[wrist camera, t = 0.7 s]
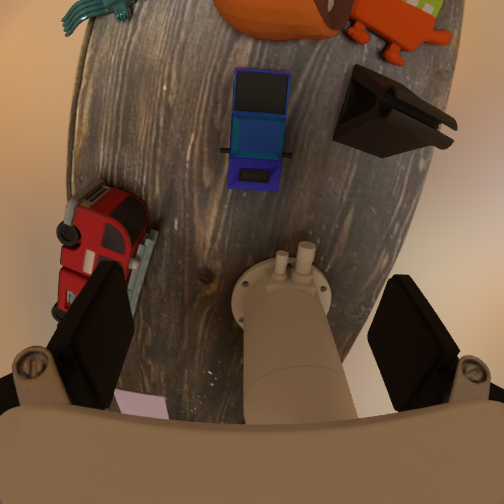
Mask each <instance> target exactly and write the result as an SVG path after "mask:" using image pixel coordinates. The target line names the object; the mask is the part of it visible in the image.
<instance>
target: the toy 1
mask: <svg viewBox="0 0 504 504" xmlns="http://www.w3.org/2000/svg"><path fill="white" fill-rule="evenodd" d="M148 222H149V216H148V211H147V209H146V207H145V205H144V203H143V202H142V201H141V200H140V199H139V198H137V197H136V196H134V195H132V194H130V193H127V192H125V191H122V190H119V189H116V188H114V187H111V186H108V185H106V181H105V180H102V179H99V178H98V179H96V180H95V181H93V182H92V183H91V184H89V185H88V186H86V187H85V188H83V189H82V190H81V191H79V192H78V193H76V194H75V195H74V196H72V197H71V198H70V199H69V201H68V203H67V205H66V211H65V216H64V220H63V221H62V222H61V223H60V224H59V225H58V226H57V230H56V233H57V237H58V239H59V241H60V242H61V243H62V244H64V245H63V246H62V249H61V258H60V264H61V265H63V267H62V268H61V269H60V272H59V283H58V302H57V303H56V304H55V305H54V307H53V308H52V310H51V313H52V316H53V317H54V319H55V320H56V321H58V324H57V327H58V326H59V324H60V322H61V321H62V319H63V317H64V316H65V314H66V312H67V311H68V309H69V307H70V306H71V304H72V302H73V301H74V299H75V298H76V297H77V296H78V294H79V293H80V291H81V290H82V288H83V286H84V285H85V283H86V282H87V280H88V279H89V277H90V276H91V274H92V273H93V271H94V270H95V268H96V267H97V265H98V264H99V262H100V261H102V260H106V261H117V262H118V264H119V266H122V267H123V269H124V275H125V281H126V286H127V292H128V297H129V302H130V307H131V312H132V317H133V318H134V315H135V311H136V307H137V303H138V299H139V296H140V292H141V289H142V285H143V282H144V278H145V275H146V271H147V268H148V265H149V261H150V258H151V255H152V252H153V248H154V245H155V242H156V239H157V236H158V233H159V232H158V231H156V230H153V229H152V230H151V233H150V234H148V233H146V230H147V227H148Z"/></svg>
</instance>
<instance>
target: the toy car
mask: <svg viewBox="0 0 504 504" xmlns="http://www.w3.org/2000/svg"><path fill="white" fill-rule="evenodd" d="M234 73H235V79H234V86H233V106H232V121H231V136H230V148H220V153H229V170H228V179H227V185H228V189H244V190H258V191H272V192H278V190H279V181H280V172H281V163H282V157H286V158H292V153H285V152H283V145H284V136H285V126H286V116H287V107H288V97H289V87H290V76H291V73H290V72H289V71H281V70H279V71H275V70H264V69H251V68H246V67H236V68H235V70H234Z"/></svg>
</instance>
